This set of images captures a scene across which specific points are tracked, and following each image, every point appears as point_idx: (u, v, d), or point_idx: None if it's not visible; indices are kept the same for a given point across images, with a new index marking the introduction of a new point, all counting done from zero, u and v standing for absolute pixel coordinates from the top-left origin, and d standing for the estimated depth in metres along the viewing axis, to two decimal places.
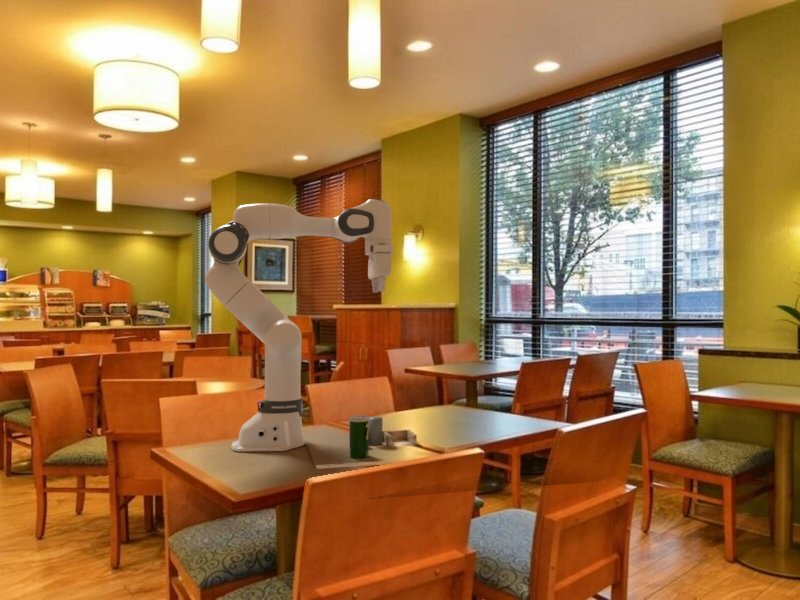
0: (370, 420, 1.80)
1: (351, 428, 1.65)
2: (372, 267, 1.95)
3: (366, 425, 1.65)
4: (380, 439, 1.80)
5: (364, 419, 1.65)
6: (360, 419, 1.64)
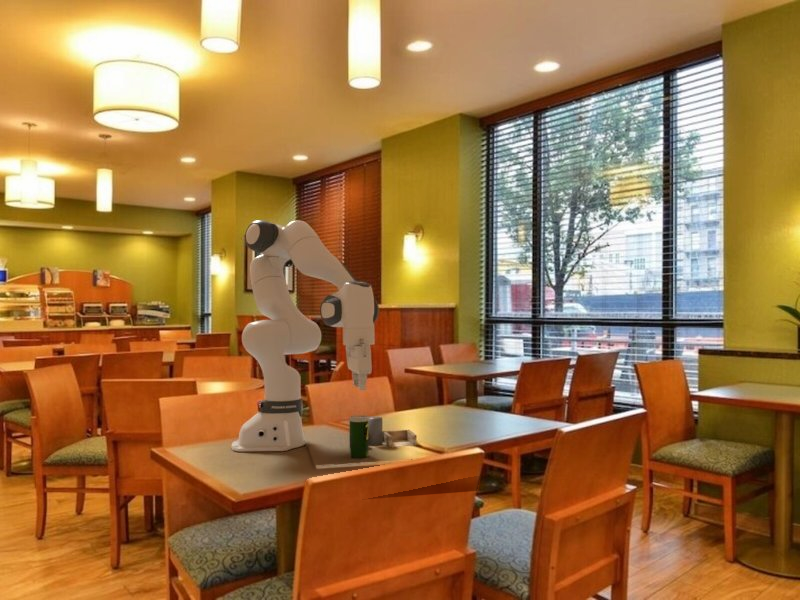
0: (370, 420, 1.80)
1: (351, 428, 1.65)
2: None
3: (366, 425, 1.65)
4: (380, 439, 1.80)
5: (364, 419, 1.65)
6: (360, 419, 1.64)
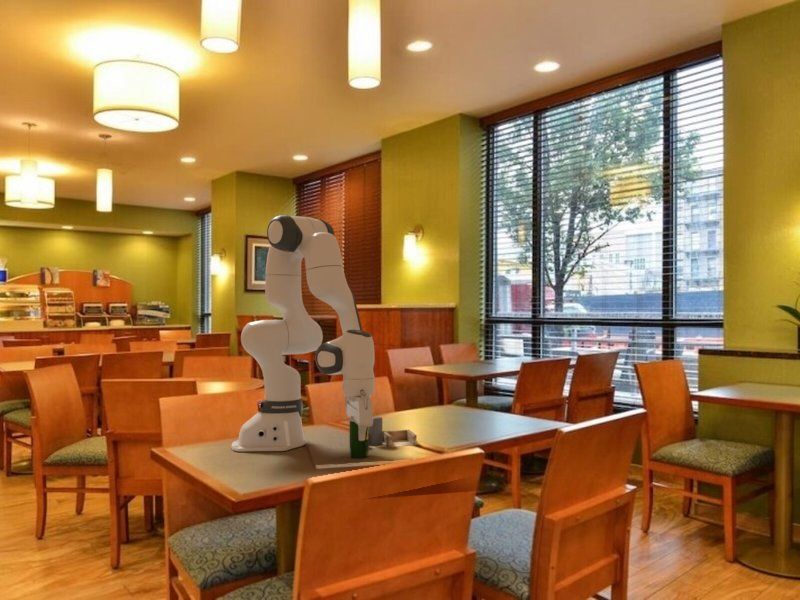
0: None
1: (351, 428, 1.65)
2: (366, 409, 1.66)
3: None
4: (380, 439, 1.80)
5: None
6: None
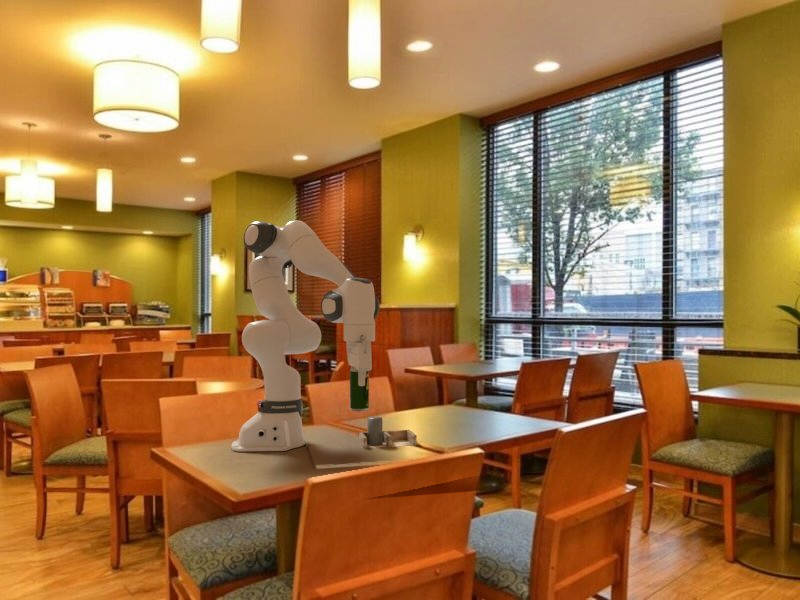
0: (370, 420, 1.80)
1: (351, 378, 1.65)
2: None
3: (366, 375, 1.65)
4: (380, 439, 1.80)
5: None
6: None
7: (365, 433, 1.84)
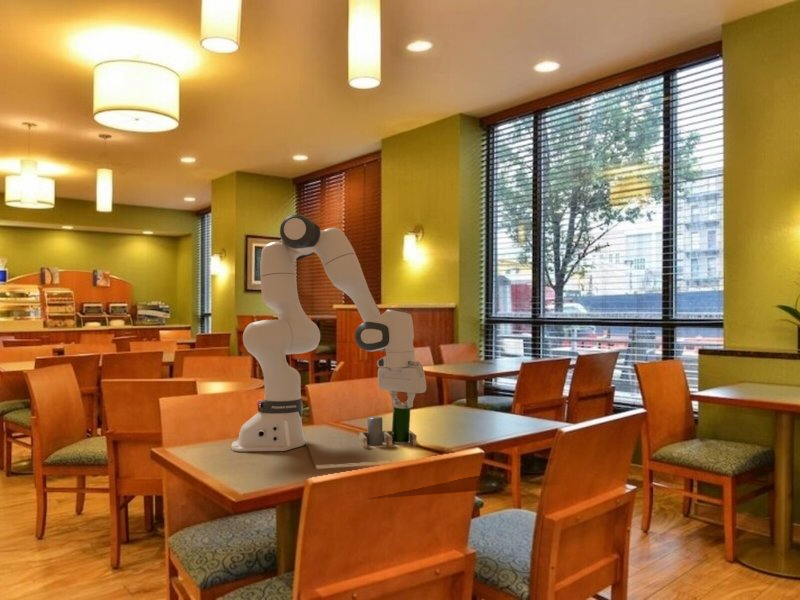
0: (370, 420, 1.80)
1: (396, 414, 1.81)
2: None
3: (409, 411, 1.82)
4: (380, 439, 1.80)
5: None
6: (405, 406, 1.81)
7: (365, 433, 1.84)
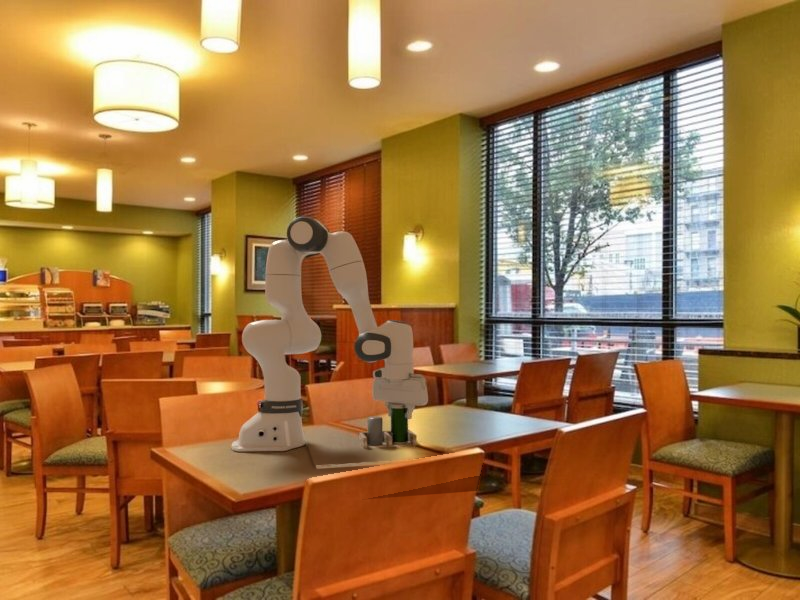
0: (370, 420, 1.80)
1: (394, 414, 1.81)
2: None
3: None
4: (380, 439, 1.80)
5: (405, 406, 1.82)
6: (402, 406, 1.81)
7: (365, 433, 1.84)
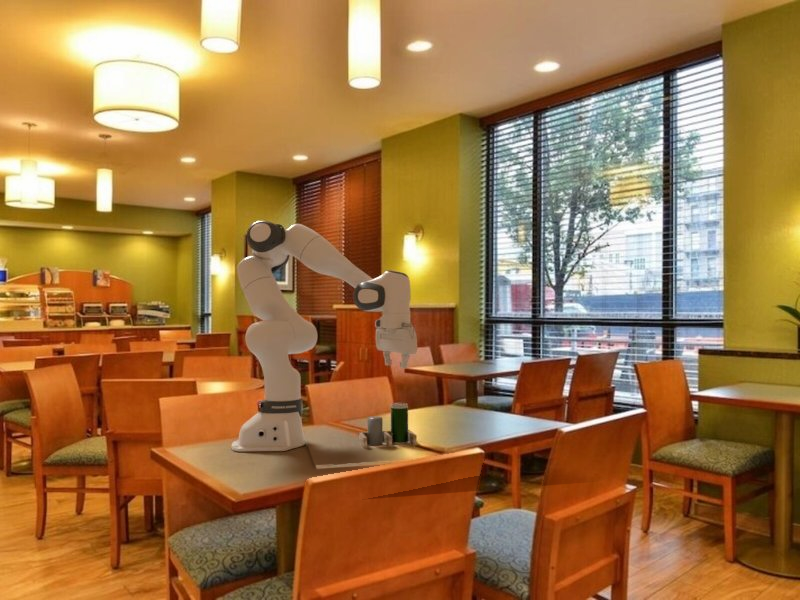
0: (370, 420, 1.80)
1: (394, 414, 1.81)
2: None
3: (407, 411, 1.82)
4: (380, 439, 1.80)
5: (405, 406, 1.82)
6: (402, 406, 1.81)
7: (365, 433, 1.84)
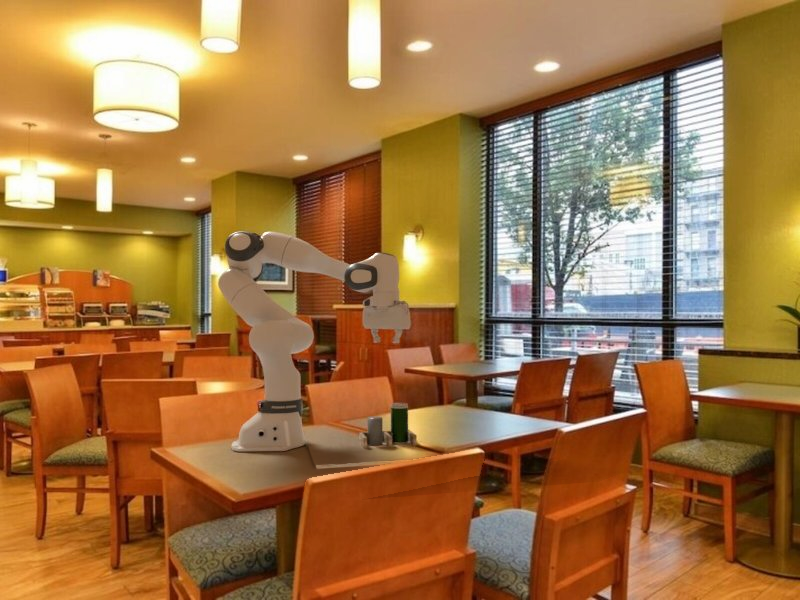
0: (370, 420, 1.80)
1: (394, 414, 1.81)
2: None
3: (407, 411, 1.82)
4: (380, 439, 1.80)
5: (405, 406, 1.82)
6: (402, 406, 1.81)
7: (365, 433, 1.84)
